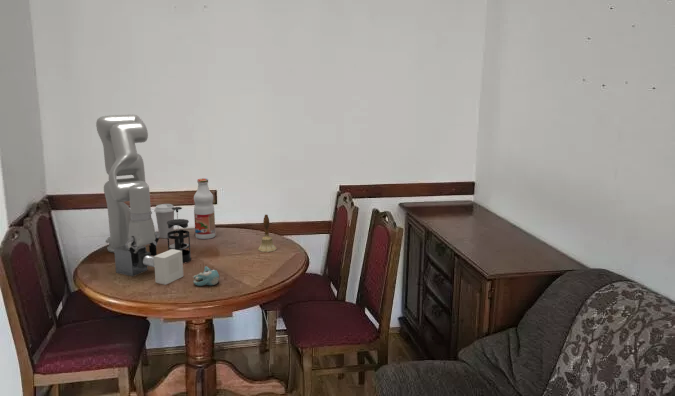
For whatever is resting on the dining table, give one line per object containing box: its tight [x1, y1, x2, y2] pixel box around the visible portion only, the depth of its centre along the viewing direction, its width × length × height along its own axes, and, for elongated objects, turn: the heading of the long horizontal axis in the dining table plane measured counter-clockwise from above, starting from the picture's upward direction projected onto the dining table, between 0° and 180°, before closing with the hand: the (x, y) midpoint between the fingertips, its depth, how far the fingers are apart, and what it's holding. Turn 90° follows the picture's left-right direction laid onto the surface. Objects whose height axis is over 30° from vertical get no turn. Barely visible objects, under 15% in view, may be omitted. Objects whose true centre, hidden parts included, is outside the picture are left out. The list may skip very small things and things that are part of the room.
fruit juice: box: [193, 177, 216, 240], centre depth 288 cm, size 9×9×28 cm
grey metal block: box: [114, 245, 149, 277], centre depth 242 cm, size 9×8×10 cm
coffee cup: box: [154, 203, 176, 239], centre depth 289 cm, size 10×10×15 cm
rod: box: [136, 250, 155, 268], centre depth 240 cm, size 19×5×5 cm, turn 64°
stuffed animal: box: [192, 265, 220, 287], centre depth 231 cm, size 11×7×12 cm
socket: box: [154, 249, 184, 286], centre depth 234 cm, size 5×10×10 cm, turn 154°
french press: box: [167, 206, 192, 264], centre depth 255 cm, size 12×9×23 cm
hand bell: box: [257, 214, 277, 253], centre depth 270 cm, size 8×8×16 cm
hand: (144, 258), depth 239 cm, fingers open, 9 cm apart
